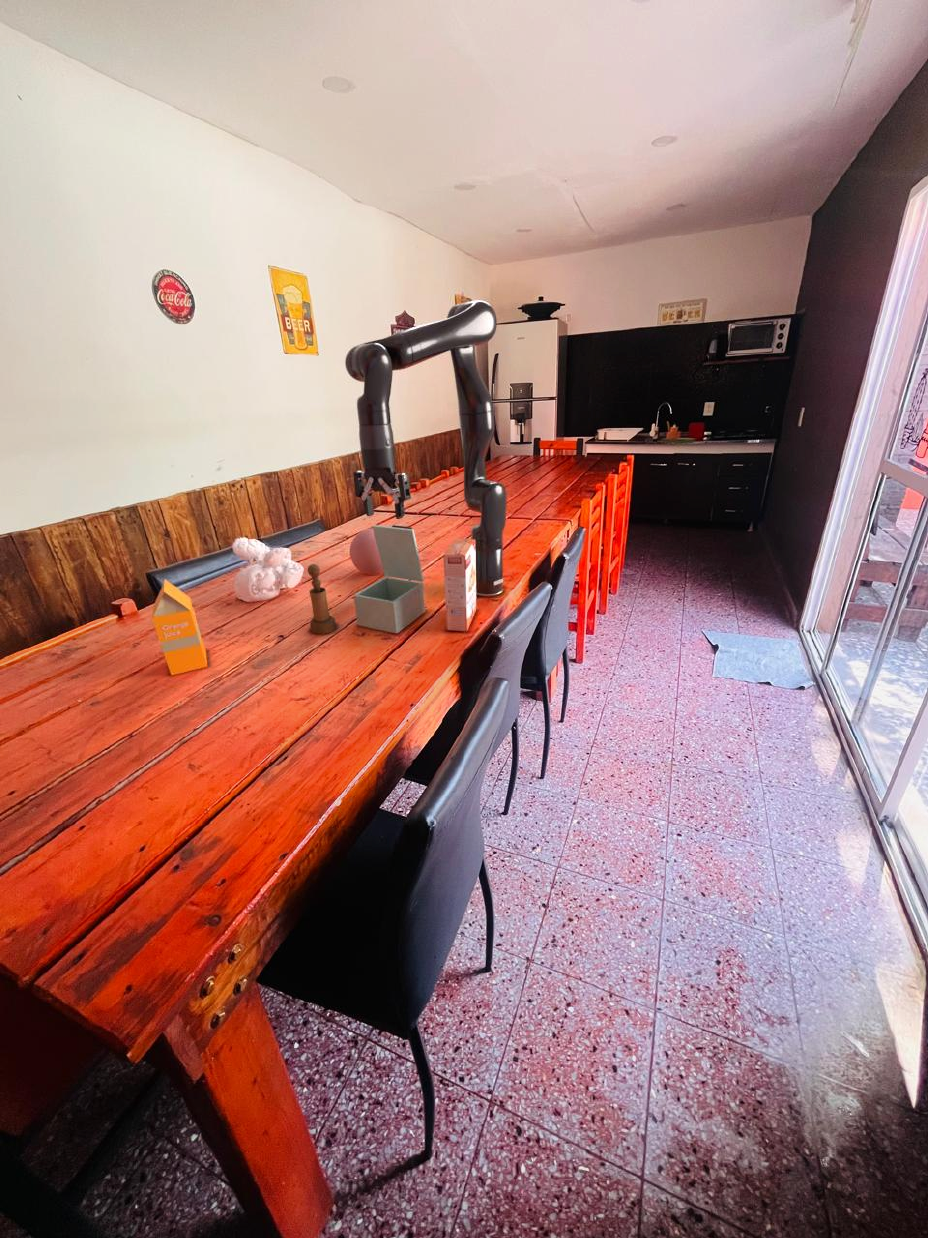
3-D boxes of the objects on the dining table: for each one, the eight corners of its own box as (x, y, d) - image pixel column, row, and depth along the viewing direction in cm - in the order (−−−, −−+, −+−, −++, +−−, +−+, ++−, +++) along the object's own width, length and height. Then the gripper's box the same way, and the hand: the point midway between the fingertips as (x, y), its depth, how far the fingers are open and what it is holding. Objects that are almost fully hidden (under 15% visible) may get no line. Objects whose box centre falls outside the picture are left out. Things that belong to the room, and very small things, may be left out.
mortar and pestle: (341, 625, 133) (331, 562, 125) (326, 636, 128) (314, 570, 120) (322, 621, 136) (311, 559, 128) (306, 631, 130) (293, 567, 123)
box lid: (412, 530, 126) (421, 522, 129) (372, 526, 131) (382, 518, 135) (422, 581, 135) (431, 572, 138) (384, 575, 140) (393, 567, 144)
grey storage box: (396, 633, 128) (393, 602, 124) (357, 625, 133) (353, 595, 129) (425, 611, 139) (423, 582, 135) (388, 604, 145) (385, 576, 141)
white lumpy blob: (205, 576, 145) (244, 526, 154) (245, 613, 161) (278, 566, 170) (251, 588, 138) (289, 535, 146) (288, 626, 154) (321, 576, 162)
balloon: (402, 560, 180) (398, 519, 173) (395, 580, 162) (390, 535, 155) (359, 562, 180) (354, 520, 173) (348, 582, 162) (342, 537, 155)
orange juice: (170, 675, 113) (143, 595, 104) (171, 658, 120) (145, 582, 111) (208, 666, 116) (184, 587, 107) (206, 650, 123) (184, 575, 114)
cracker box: (468, 632, 127) (466, 555, 118) (445, 631, 128) (441, 554, 119) (478, 610, 139) (476, 538, 130) (457, 608, 140) (454, 537, 131)
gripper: (413, 444, 111) (418, 515, 118) (362, 442, 117) (370, 511, 124) (394, 448, 105) (401, 523, 112) (341, 446, 111) (351, 518, 118)
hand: (384, 516), depth 118 cm, fingers open, 8 cm apart
